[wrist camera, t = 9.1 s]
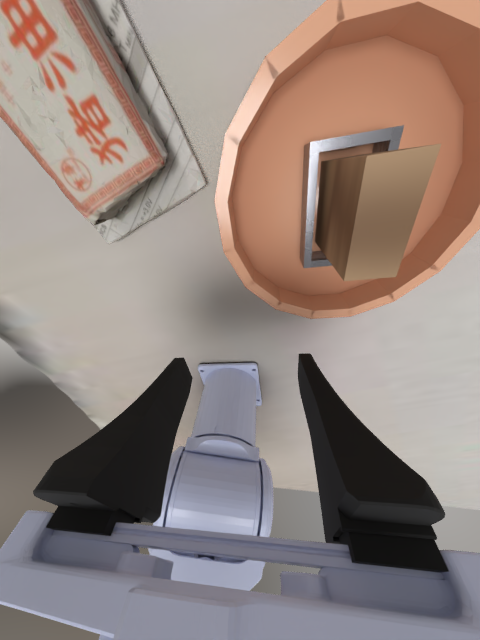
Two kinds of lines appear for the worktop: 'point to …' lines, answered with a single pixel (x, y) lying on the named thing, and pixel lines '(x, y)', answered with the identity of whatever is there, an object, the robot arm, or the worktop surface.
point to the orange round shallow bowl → (346, 119)
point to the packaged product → (93, 111)
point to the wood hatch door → (371, 209)
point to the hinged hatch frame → (380, 139)
